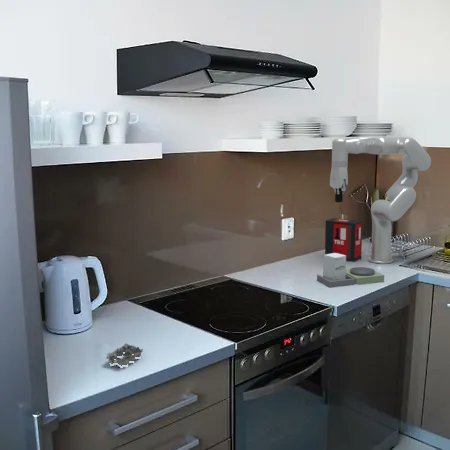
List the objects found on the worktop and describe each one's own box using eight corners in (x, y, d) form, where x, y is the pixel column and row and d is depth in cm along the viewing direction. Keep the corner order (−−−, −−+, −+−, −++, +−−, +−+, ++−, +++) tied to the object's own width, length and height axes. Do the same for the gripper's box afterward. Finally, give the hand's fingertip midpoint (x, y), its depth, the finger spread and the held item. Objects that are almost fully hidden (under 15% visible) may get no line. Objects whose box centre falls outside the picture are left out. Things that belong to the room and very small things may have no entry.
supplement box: (333, 285, 245) (334, 257, 243) (322, 281, 251) (322, 254, 249) (345, 282, 249) (346, 255, 247) (334, 278, 255) (334, 252, 253)
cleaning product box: (361, 258, 292) (362, 221, 288) (354, 262, 285) (355, 223, 281) (332, 254, 301) (333, 218, 298) (324, 257, 294) (325, 220, 291)
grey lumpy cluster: (123, 371, 164) (123, 358, 163) (104, 366, 168) (103, 353, 167) (145, 357, 173) (145, 345, 172) (126, 353, 177) (126, 341, 176)
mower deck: (367, 273, 263) (367, 265, 262) (384, 281, 250) (384, 272, 249) (315, 279, 255) (315, 270, 254) (330, 287, 242) (330, 278, 241)
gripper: (325, 163, 275) (324, 200, 279) (340, 166, 261) (339, 204, 265) (338, 163, 278) (338, 199, 281) (354, 165, 264) (353, 203, 267)
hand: (338, 201), depth 273 cm, fingers closed
